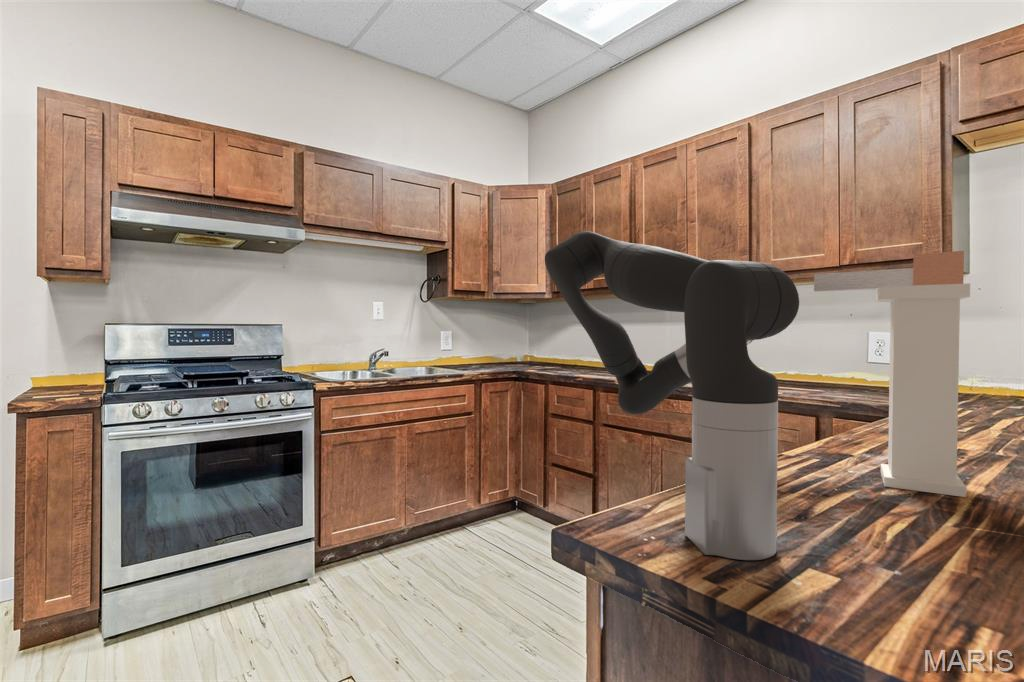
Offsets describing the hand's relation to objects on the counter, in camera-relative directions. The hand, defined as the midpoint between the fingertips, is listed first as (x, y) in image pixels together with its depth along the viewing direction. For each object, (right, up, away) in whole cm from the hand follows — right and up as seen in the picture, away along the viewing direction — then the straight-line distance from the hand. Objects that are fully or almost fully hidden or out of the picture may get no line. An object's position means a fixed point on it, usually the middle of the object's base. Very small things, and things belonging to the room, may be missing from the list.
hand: (786, 311), depth 95 cm
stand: (+16, -29, -10) cm, 34 cm away
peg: (+12, +3, -8) cm, 15 cm away
